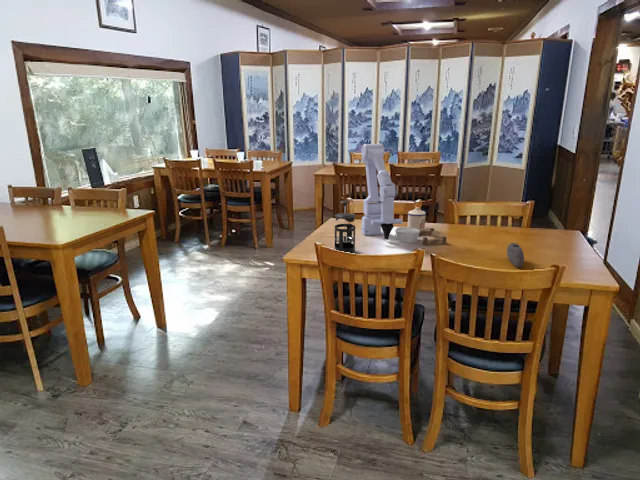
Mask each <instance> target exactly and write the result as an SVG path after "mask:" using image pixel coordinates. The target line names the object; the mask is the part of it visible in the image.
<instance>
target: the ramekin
mask: <svg viewBox="0 0 640 480" xmlns="http://www.w3.org/2000/svg"><path fill="white" fill-rule="evenodd" d="M394 232H395V236H396V240H397V241H398V242H399V243H404V244H414V243H416V242H418V240H419V239H418V238H419V233H420V231H419V230H418V229H416V228H411V227H408V226H402V227H396V229H395V230H394Z"/></svg>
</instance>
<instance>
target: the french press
mask: <svg viewBox="0 0 640 480" xmlns="http://www.w3.org/2000/svg"><path fill="white" fill-rule="evenodd" d="M340 203H341V204H343V206H344V212H340V213H336V214H334V217H335V221H336V222H337V221H338V220H339V219H343V220H344V221H345V222H346V221H347V222H348V223H339V224H336V225H334V250H335V249H336V250H339V251H344V252H350V253H355V254H356V225H355V224H353V222H355V219H356V216H357V215H356V214H354V213H349V212H346V207H347V204H350V203H351V202H350V200H341V201H340ZM337 232H338V235H337ZM344 233H346V235H344Z"/></svg>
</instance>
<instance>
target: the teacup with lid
mask: <svg viewBox="0 0 640 480" xmlns="http://www.w3.org/2000/svg"><path fill="white" fill-rule="evenodd" d="M426 215H427V213H426V212H425V211H424V210H422V209H420V207H419V206H418V207H415V208H414V209H412V210H409V211H408V212H407V227H411V228H416V229H418V230H419V231H421V230H425V228H426V227H425V225H426Z"/></svg>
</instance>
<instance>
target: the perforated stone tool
mask: <svg viewBox="0 0 640 480" xmlns="http://www.w3.org/2000/svg"><path fill="white" fill-rule="evenodd" d="M506 256H507V257H508V260H509V261H510V263H511V264H512V265H513V266H514V267H516V268H521V267H522V266H523V265H524V264H525V263H524V261H525V254H524V250H523V248H522V247H521V246H520V245H519V244H518V243H517V242H516V243H515V242H511V243H509V244H508V246H507V248H506Z"/></svg>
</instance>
